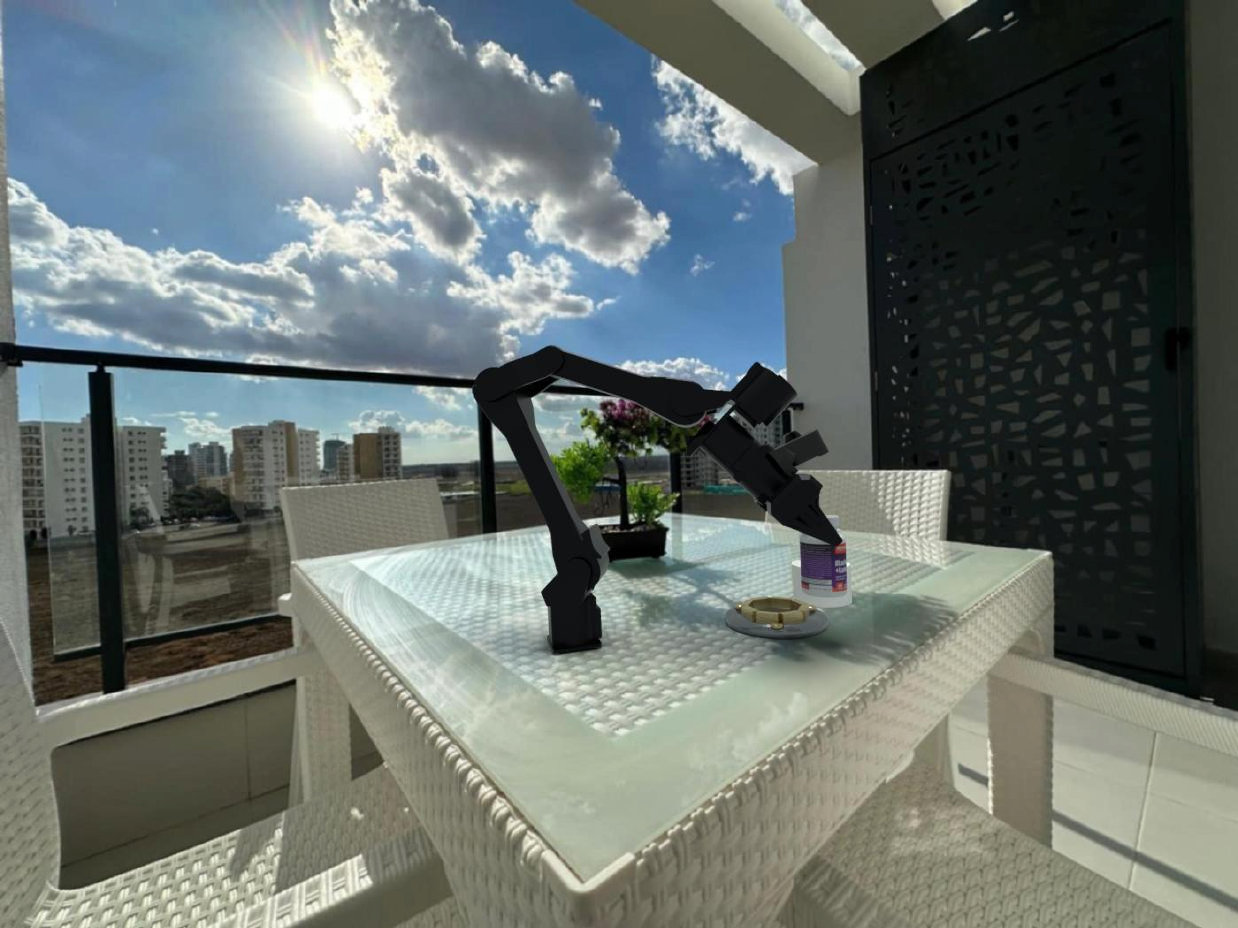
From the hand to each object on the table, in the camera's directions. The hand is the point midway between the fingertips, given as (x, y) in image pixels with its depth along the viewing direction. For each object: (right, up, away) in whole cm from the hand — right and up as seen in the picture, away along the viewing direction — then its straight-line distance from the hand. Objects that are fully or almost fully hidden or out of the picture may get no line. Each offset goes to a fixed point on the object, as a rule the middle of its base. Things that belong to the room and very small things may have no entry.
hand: (833, 540), depth 65 cm
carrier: (-4, -13, +10) cm, 17 cm away
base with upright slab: (+6, -13, +20) cm, 25 cm away
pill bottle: (-1, -7, 0) cm, 7 cm away
